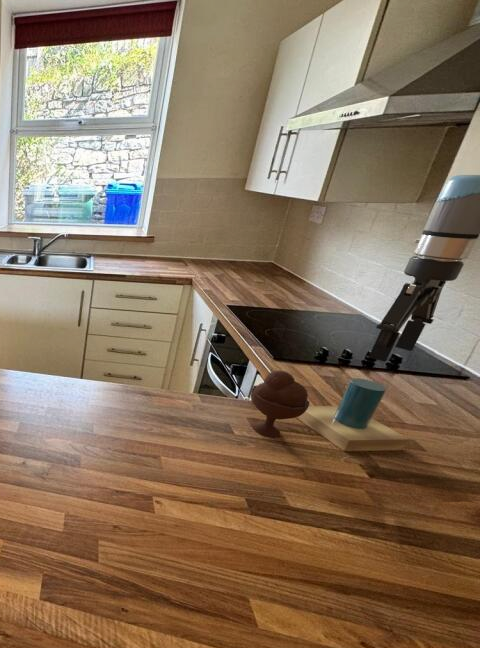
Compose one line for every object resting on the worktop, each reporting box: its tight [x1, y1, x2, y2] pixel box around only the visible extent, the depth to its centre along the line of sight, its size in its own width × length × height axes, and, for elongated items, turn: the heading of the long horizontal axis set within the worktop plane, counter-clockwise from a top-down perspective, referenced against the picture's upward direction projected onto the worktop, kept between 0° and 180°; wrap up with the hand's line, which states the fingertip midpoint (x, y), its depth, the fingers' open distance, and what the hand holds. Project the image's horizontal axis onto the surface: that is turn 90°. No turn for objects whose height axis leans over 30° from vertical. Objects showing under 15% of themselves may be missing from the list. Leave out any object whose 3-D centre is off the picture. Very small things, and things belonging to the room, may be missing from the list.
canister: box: [334, 377, 387, 429], centre depth 92 cm, size 6×6×10 cm
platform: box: [295, 405, 410, 452], centre depth 95 cm, size 14×14×3 cm
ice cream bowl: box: [250, 370, 310, 439], centre depth 92 cm, size 11×11×15 cm
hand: (390, 353), depth 90 cm, fingers open, 13 cm apart
